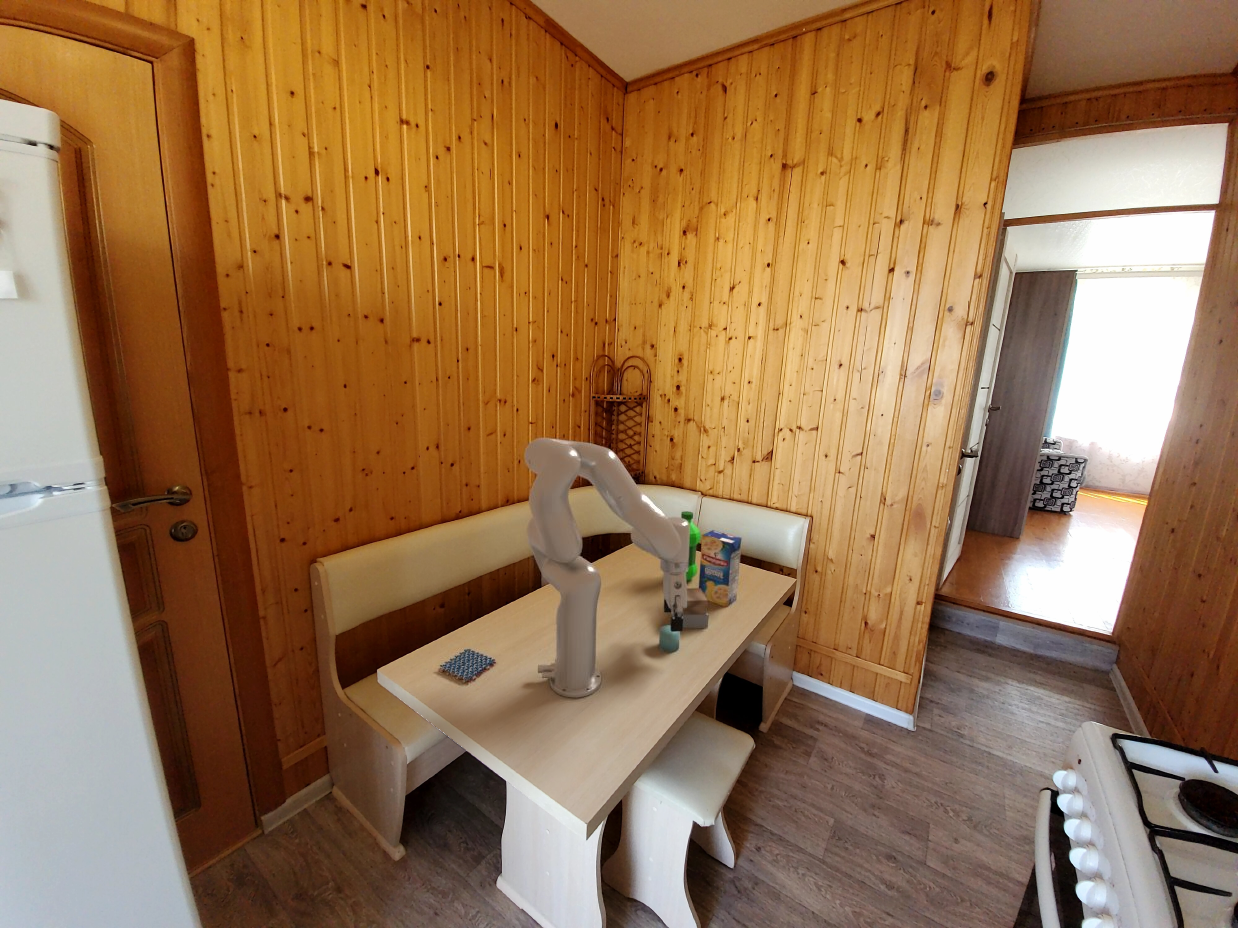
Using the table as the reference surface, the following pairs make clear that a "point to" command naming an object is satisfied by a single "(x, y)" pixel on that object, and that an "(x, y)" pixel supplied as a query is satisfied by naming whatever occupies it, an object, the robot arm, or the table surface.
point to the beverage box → (720, 567)
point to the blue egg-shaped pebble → (669, 639)
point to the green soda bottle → (691, 544)
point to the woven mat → (468, 666)
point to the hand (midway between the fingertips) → (672, 621)
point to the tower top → (695, 602)
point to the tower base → (695, 620)
